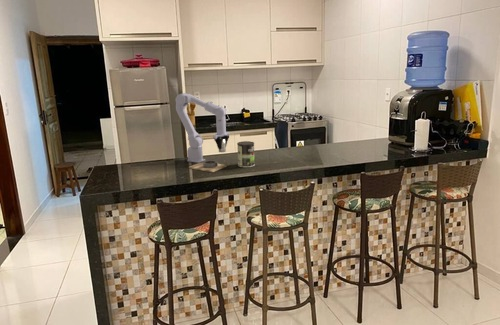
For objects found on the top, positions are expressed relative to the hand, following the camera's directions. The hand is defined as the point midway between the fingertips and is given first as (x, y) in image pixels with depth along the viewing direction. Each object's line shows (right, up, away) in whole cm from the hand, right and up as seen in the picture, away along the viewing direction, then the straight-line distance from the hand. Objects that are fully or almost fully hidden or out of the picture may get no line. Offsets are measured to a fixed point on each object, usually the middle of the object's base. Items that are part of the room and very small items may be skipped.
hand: (222, 148), depth 232 cm
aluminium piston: (0, -2, +1) cm, 2 cm away
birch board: (-8, -12, -10) cm, 17 cm away
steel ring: (-6, -12, -11) cm, 18 cm away
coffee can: (+15, -11, -7) cm, 20 cm away
